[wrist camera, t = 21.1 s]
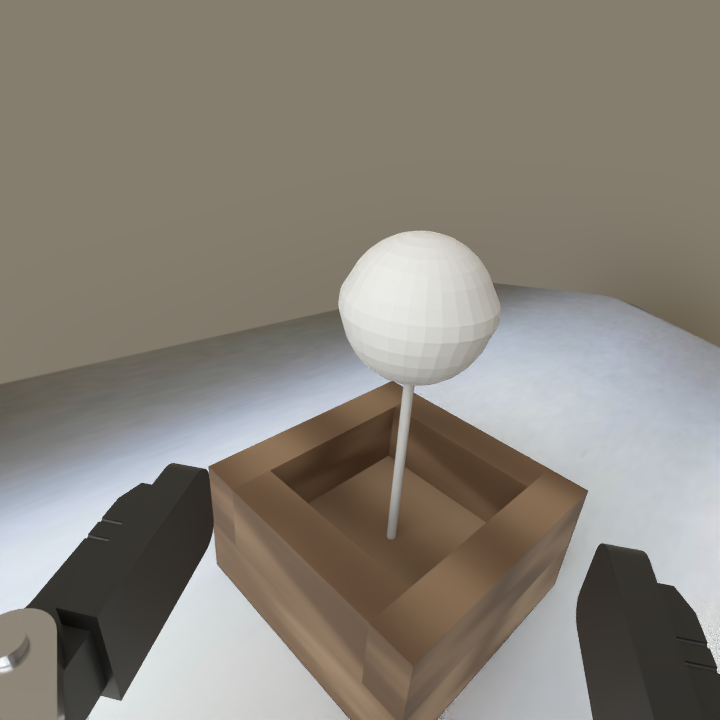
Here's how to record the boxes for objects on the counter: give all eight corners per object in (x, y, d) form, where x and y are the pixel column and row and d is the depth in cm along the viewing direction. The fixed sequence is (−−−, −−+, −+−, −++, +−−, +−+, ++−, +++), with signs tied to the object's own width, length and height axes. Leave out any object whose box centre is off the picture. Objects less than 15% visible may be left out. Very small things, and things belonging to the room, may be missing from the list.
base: (383, 464, 36) (392, 380, 32) (554, 584, 28) (588, 490, 25) (216, 564, 28) (208, 466, 25) (393, 769, 20) (413, 666, 17)
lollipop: (306, 554, 25) (310, 237, 18) (359, 480, 30) (379, 206, 23) (433, 608, 23) (494, 271, 16) (467, 519, 28) (527, 229, 20)
